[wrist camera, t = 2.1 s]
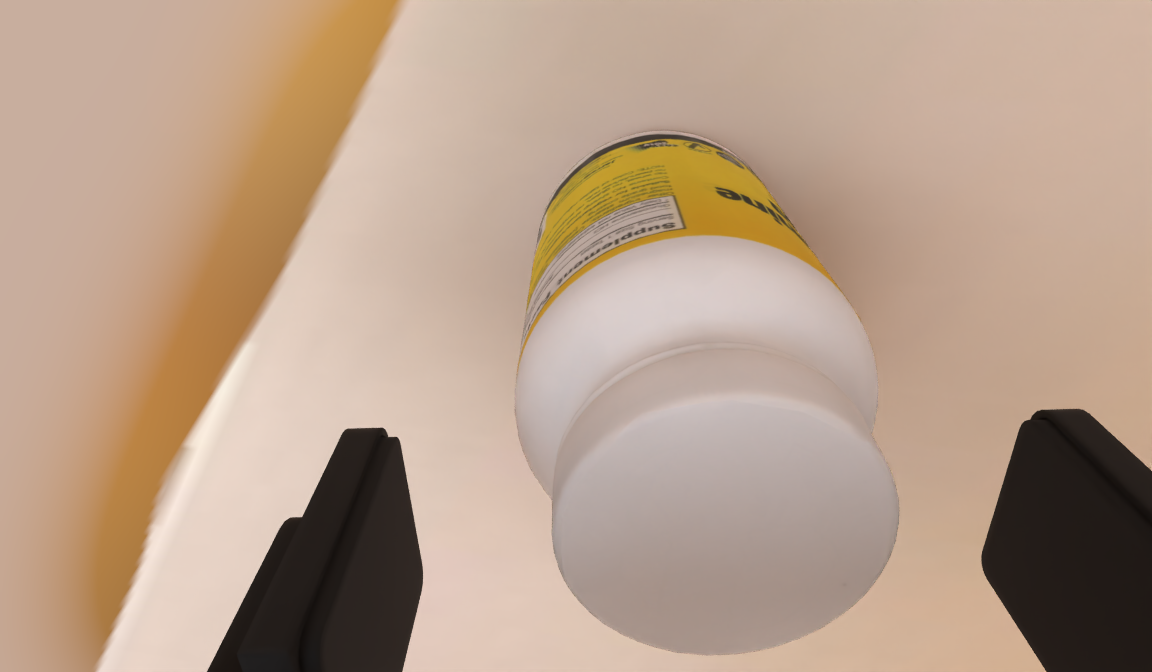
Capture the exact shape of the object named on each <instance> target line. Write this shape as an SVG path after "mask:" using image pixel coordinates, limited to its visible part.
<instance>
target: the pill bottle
mask: <svg viewBox="0 0 1152 672" xmlns="http://www.w3.org/2000/svg"><path fill="white" fill-rule="evenodd" d="M877 407H878V375H877V369H876V363H875V358H874V354H873V350H872V347H871V344H870V341H869V338H868V336H867V333H866V331H865V329H864V327H863V325H862V322H861V320H860V317H859V316H858V315H857V313H856V312H855V310H854V309H853V307H852V305H851V304H850V302H849V301H848V300H847V298H846V297H845V295H844V294H843V293H842V291H841V290H840V288H839V287H838V286H837V284H836V283H835V282H834V280H833V279H832V278H831V276H830V275H829V274H828V272H827V271H826V270H825V268H824V267H823V266H822V264H821V263H820V262H819V260H818V259H817V257H816V256H815V254H814V253H813V252H812V251H811V250H810V248H809V246H808V245H807V243H806V242H805V241H804V239H803V238H802V236H801V235H800V234H799V233H798V232H797V230H796V229H795V227H794V226H793V225H792V223H791V222H790V220H789V219H788V218H787V216H786V215H785V214H784V212H783V211H782V210H781V208H780V207H779V205H778V204H777V203H776V201H775V200H774V198H773V197H772V196H771V194H770V193H769V192H768V190H767V189H766V187H765V186H764V185H763V183H762V182H761V180H760V179H759V178H758V177H757V176H756V175H755V174H754V172H753V171H752V170H751V169H750V168H749V167H748V166H747V165H746V164H745V163H744V162H743V161H742V160H741V159H740V158H739V157H738V156H736V155H735V154H734V153H732V152H731V151H730V150H728V149H726V148H725V147H723V146H721V145H720V144H718V143H715V142H713V141H711V140H709V139H706V138H704V137H701V136H697V135H694V134H689V133H684V132H677V131H666V130H660V131H649V132H642V133H637V134H633V135H629V136H626V137H622V138H619V139H616V140H614V141H612V142H609V143H607V144H605V145H603V146H601V147H599V148H597V149H596V150H594V151H593V152H591V153H590V154H588V155H587V156H585V157H584V158H583V159H582V160H580V161H579V162H578V163H577V164H576V165H575V166H574V167H573V168H572V169H571V170H570V171H569V172H568V173H567V174H566V175H565V177H564V178H563V179H562V180H561V182H560V183H559V185H558V186H557V187H556V189H555V191H554V192H553V194H552V196H551V198H550V200H549V202H548V204H547V206H546V209H545V212H544V215H543V218H542V221H541V225H540V229H539V234H538V240H537V246H536V251H535V257H534V263H533V269H532V276H531V282H530V289H529V295H528V301H527V309H526V316H525V323H524V330H523V336H522V343H521V349H520V356H519V363H518V369H517V377H516V388H515V416H516V423H517V429H518V435H519V439H520V443H521V446H522V449H523V452H524V455H525V457H526V459H527V462H528V464H529V466H530V469H531V470H532V472H533V474H534V476H535V477H536V479H537V480H538V482H539V483H540V485H541V486H542V487H543V489H544V490H545V492H546V493H547V494H548V496H549V497H550V498H551V499H552V540H553V548H554V554H555V557H556V560H557V563H558V567H559V570H560V572H561V574H562V576H563V579H564V581H565V582H566V584H567V585H568V587H569V589H570V590H571V592H572V593H573V594H574V596H575V597H576V598H577V599H578V601H579V602H580V603H581V604H582V605H583V606H584V607H585V608H586V609H587V610H588V611H589V612H590V613H591V614H592V615H593V616H595V617H596V618H597V619H598V620H600V621H601V622H602V623H604V624H605V625H607V626H608V627H610V628H612V629H613V630H615V631H617V632H619V633H620V634H622V635H624V636H627V637H629V638H631V639H633V640H636V641H638V642H641V643H644V644H647V645H650V646H653V647H656V648H660V649H664V650H668V651H672V652H677V653H686V654H697V655H729V654H741V653H748V652H755V651H760V650H764V649H769V648H773V647H777V646H780V645H782V644H785V643H788V642H791V641H794V640H797V639H800V638H802V637H804V636H806V635H808V634H810V633H812V632H814V631H816V630H818V629H820V628H822V627H824V626H825V625H827V624H828V623H830V622H831V621H833V620H835V619H836V618H838V617H839V616H841V615H842V614H843V613H845V612H846V611H847V610H848V609H850V608H851V607H852V606H853V605H854V604H855V603H857V602H858V601H859V600H860V599H861V598H862V597H863V596H864V595H865V594H866V593H867V592H868V590H869V589H870V588H871V587H872V585H873V584H874V583H875V581H876V580H877V578H878V577H879V576H880V574H881V573H882V571H883V569H884V567H885V565H886V563H887V562H888V559H889V557H890V555H891V553H892V550H893V547H894V544H895V541H896V536H897V529H898V524H899V499H898V494H897V489H896V485H895V482H894V479H893V476H892V473H891V470H890V468H889V466H888V464H887V462H886V460H885V458H884V456H883V454H882V452H881V450H880V448H879V447H878V445H877V443H876V441H875V440H874V438H873V436H872V431H873V428H874V424H875V418H876V413H877Z"/></svg>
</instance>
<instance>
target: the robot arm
mask: <svg viewBox="0 0 1152 672" xmlns="http://www.w3.org/2000/svg"><path fill="white" fill-rule="evenodd" d="M981 558H982V567H983V571H984V574H985V576H986V578H987V580H988V581H989V583H990V584H991V586H992V588H993V589H994V591H995V592H996V594H997V595H998V597H999V598H1000V600H1001V602H1002V603H1003V605H1004V606H1005V608H1006V609H1007V611H1008V612H1009V614H1010V616H1011V617H1012V619H1013V620H1014V622H1015V623H1016V625H1017V626H1018V628H1019V630H1020V631H1021V633H1022V634H1023V636H1024V637H1025V639H1026V640H1027V642H1028V643H1029V645H1030V647H1031V648H1032V650H1033V651H1034V653H1035V654H1036V656H1037V657H1038V659H1039V661H1040V662H1041V664H1042V665H1043V667H1044V668H1045V670H1046V671H1047V672H1152V471H1151V470H1150V469H1149V468H1148V467H1147V466H1146V465H1145V464H1144V463H1142V462H1141V461H1140V460H1139V459H1138V458H1137V457H1136V456H1135V455H1134V454H1133V453H1132V452H1130V451H1129V450H1128V449H1127V448H1126V447H1125V446H1124V445H1123V444H1122V443H1121V442H1120V441H1118V440H1117V439H1116V438H1115V437H1114V436H1113V435H1112V434H1111V433H1110V432H1109V431H1108V430H1107V429H1105V428H1104V427H1103V426H1102V425H1101V424H1100V423H1099V422H1098V421H1097V420H1096V419H1095V418H1093V417H1092V416H1091V415H1090V414H1089V413H1087V412H1086V411H1084V410H1081V409H1056V410H1040V411H1037V412H1036V413H1035V414H1034V415H1033V416H1032V417H1031V420H1027V421H1024V422H1023V423H1022V425H1021V427H1020V429H1019V432H1018V436H1017V439H1016V442H1015V445H1014V449H1013V452H1012V455H1011V459H1010V462H1009V465H1008V468H1007V472H1006V475H1005V478H1004V482H1003V485H1002V488H1001V491H1000V495H999V498H998V501H997V505H996V508H995V511H994V515H993V518H992V521H991V524H990V528H989V531H988V534H987V538H986V541H985V544H984V547H983V551H982V556H981ZM422 584H423V567H422V561H421V555H420V550H419V544H418V539H417V533H416V528H415V522H414V516H413V511H412V505H411V500H410V494H409V489H408V483H407V478H406V472H405V466H404V461H403V455H402V450H401V445H400V441H399V439H398V438H397V437H388V435H387V432H386V430H385V429H384V428H357V429H346V430H345V431H344V432H343V433H342V435H341V437H340V439H339V442H338V444H337V446H336V448H335V450H334V452H333V454H332V456H331V458H330V460H329V462H328V465H327V467H326V469H325V471H324V473H323V475H322V477H321V479H320V481H319V483H318V485H317V487H316V490H315V492H314V494H313V496H312V498H311V500H310V502H309V504H308V506H307V508H306V510H305V513H304V515H303V517H293V518H289V519H288V520H286V521H285V522H284V523H283V525H282V526H281V528H280V529H279V531H278V533H277V535H276V537H275V539H274V541H273V543H272V545H271V547H270V549H269V551H268V553H267V555H266V557H265V559H264V561H263V563H262V565H261V567H260V569H259V570H258V572H257V574H256V576H255V578H254V580H253V582H252V584H251V586H250V588H249V590H248V592H247V594H246V596H245V598H244V600H243V602H242V604H241V606H240V608H239V610H238V612H237V614H236V616H235V618H234V620H233V622H232V624H231V626H230V628H229V630H228V631H227V633H226V635H225V637H224V639H223V641H222V643H221V645H220V647H219V649H218V651H217V653H216V655H215V657H214V659H213V661H212V663H211V665H210V667H209V669H208V671H207V672H402V670H403V666H404V662H405V658H406V654H407V649H408V645H409V641H410V637H411V633H412V629H413V625H414V620H415V616H416V612H417V608H418V604H419V600H420V595H421V591H422Z"/></svg>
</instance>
